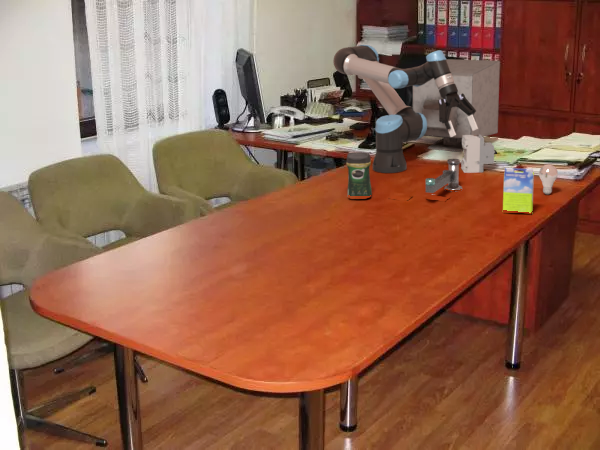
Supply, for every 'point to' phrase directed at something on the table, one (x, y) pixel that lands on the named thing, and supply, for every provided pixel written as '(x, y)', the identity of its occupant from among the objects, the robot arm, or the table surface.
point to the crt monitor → (478, 91)
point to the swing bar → (440, 181)
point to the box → (518, 190)
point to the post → (455, 167)
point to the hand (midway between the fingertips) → (464, 133)
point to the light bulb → (548, 177)
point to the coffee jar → (359, 174)
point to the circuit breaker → (476, 153)
